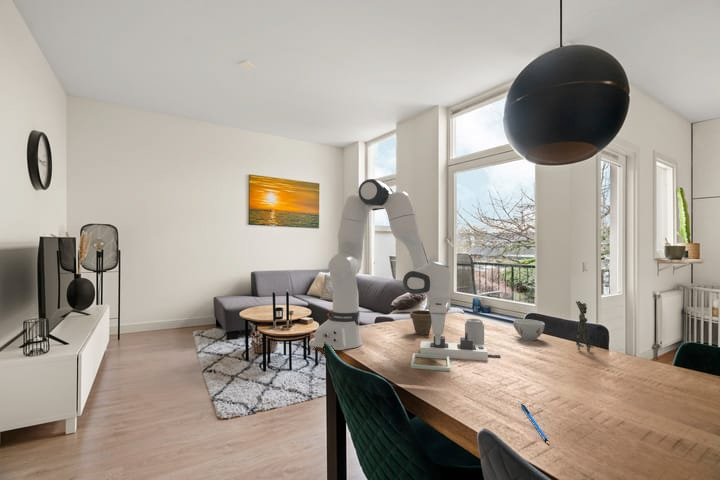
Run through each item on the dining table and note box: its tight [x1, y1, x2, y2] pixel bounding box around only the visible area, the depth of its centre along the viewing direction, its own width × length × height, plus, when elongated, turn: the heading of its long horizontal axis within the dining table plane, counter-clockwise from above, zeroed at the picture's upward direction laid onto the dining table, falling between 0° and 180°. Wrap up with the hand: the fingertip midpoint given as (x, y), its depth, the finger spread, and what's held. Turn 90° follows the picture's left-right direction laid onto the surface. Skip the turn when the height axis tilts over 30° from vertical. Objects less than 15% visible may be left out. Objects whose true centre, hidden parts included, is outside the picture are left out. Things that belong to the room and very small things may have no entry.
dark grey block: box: [433, 335, 446, 348], centre depth 136 cm, size 4×4×6 cm
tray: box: [410, 352, 451, 372], centre depth 125 cm, size 13×13×2 cm
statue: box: [575, 300, 595, 352], centre depth 142 cm, size 5×6×20 cm
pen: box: [520, 403, 549, 441], centre depth 85 cm, size 1×19×1 cm, turn 172°
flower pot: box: [409, 309, 432, 336], centre depth 170 cm, size 12×11×10 cm
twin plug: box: [459, 331, 473, 350], centre depth 134 cm, size 4×4×8 cm
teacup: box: [512, 318, 546, 341], centre depth 161 cm, size 15×12×8 cm
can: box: [464, 318, 485, 345], centre depth 144 cm, size 8×8×12 cm
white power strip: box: [419, 340, 501, 361], centre depth 134 cm, size 29×9×5 cm, turn 77°
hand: (437, 340), depth 136 cm, fingers open, 8 cm apart
